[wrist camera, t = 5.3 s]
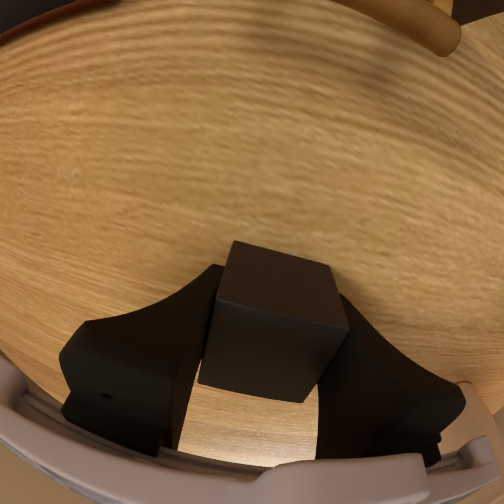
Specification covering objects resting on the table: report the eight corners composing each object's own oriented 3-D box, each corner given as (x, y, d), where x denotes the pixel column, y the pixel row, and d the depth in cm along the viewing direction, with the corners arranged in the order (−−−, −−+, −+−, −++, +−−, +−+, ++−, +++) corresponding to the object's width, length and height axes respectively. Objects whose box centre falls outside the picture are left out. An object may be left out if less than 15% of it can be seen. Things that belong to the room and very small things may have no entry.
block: (297, 335, 14) (302, 404, 10) (215, 316, 14) (196, 384, 10) (329, 264, 12) (352, 329, 8) (233, 239, 12) (214, 298, 8)
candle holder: (495, 374, 16) (539, 468, 5) (436, 433, 20) (458, 518, 9) (436, 374, 15) (484, 510, 5) (368, 439, 20) (384, 548, 9)
